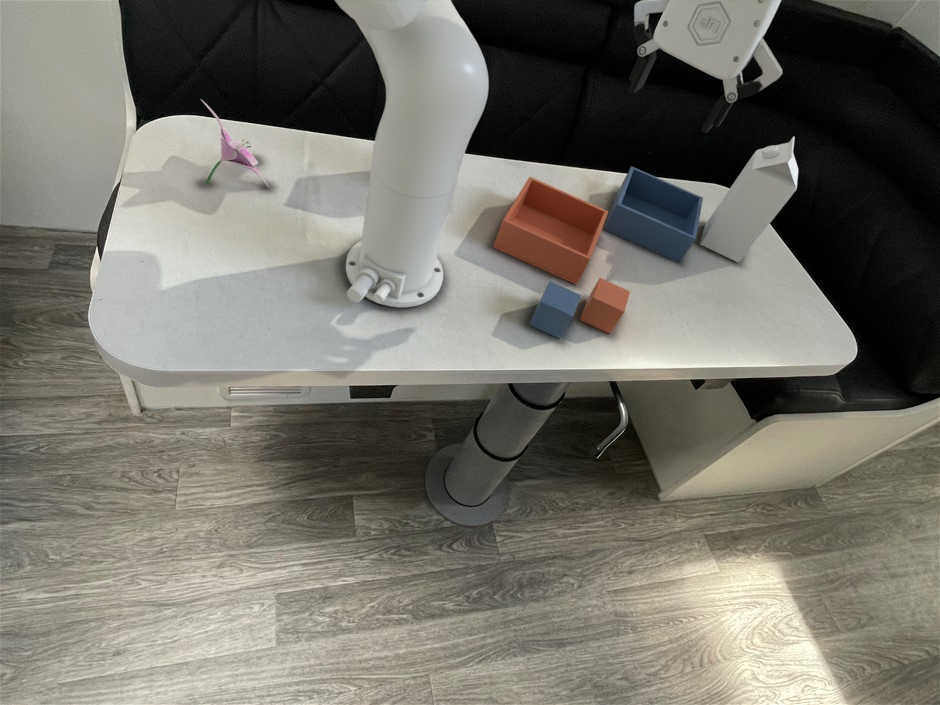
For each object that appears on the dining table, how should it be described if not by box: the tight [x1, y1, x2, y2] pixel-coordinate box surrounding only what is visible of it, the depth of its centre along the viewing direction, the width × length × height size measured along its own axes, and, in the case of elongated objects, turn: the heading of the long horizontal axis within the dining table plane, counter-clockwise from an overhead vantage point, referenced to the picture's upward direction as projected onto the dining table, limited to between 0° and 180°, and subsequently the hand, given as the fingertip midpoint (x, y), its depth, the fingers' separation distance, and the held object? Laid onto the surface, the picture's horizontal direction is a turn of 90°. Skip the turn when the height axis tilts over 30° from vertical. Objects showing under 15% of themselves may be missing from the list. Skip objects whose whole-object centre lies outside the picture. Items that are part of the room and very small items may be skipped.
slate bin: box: [603, 166, 704, 264], centre depth 97 cm, size 13×13×5 cm
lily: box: [201, 99, 269, 187], centre depth 78 cm, size 12×12×10 cm
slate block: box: [528, 280, 582, 340], centre depth 77 cm, size 4×4×4 cm
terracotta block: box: [579, 277, 631, 335], centre depth 79 cm, size 4×4×4 cm
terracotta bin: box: [493, 176, 609, 286], centre depth 87 cm, size 13×13×5 cm
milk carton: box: [699, 136, 799, 264], centre depth 94 cm, size 7×7×19 cm
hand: (670, 108), depth 69 cm, fingers open, 9 cm apart
